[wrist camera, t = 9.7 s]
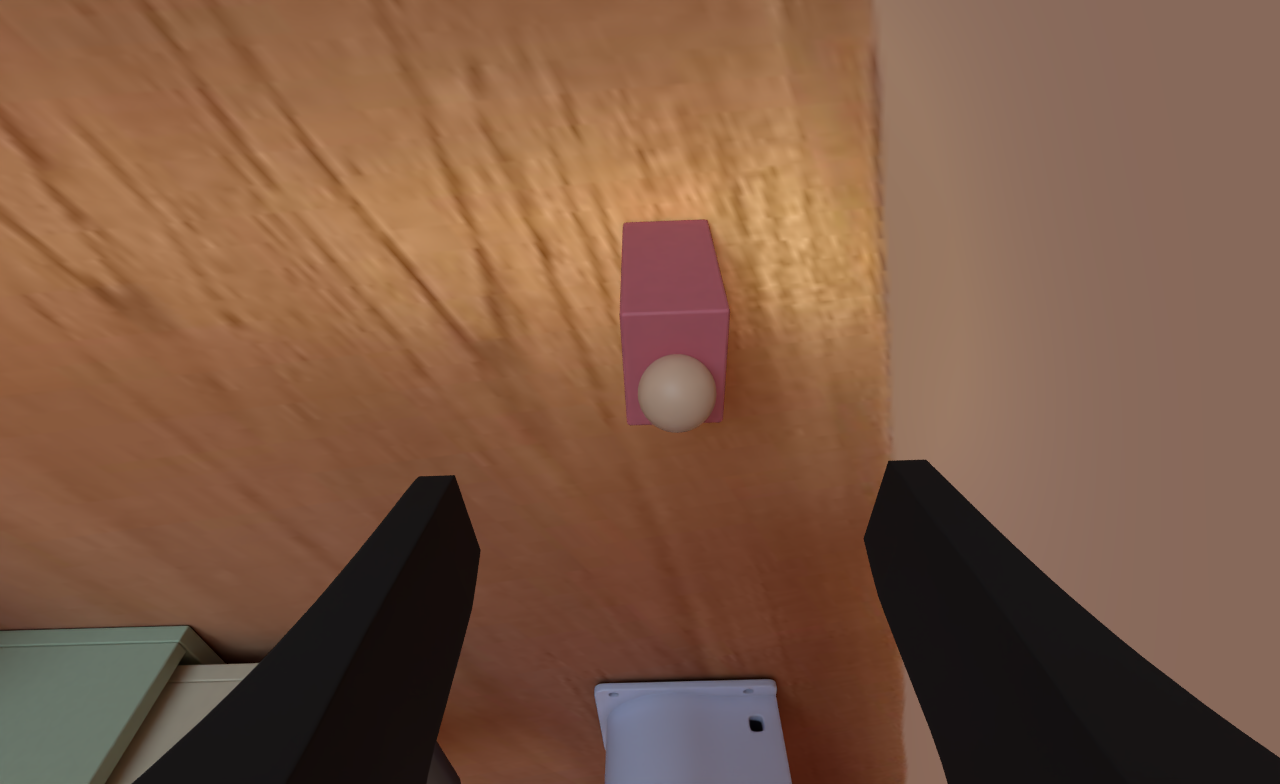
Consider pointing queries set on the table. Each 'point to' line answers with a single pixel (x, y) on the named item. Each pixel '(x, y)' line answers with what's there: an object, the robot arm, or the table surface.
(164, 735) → the drawer
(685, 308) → the pink block with knob
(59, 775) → the cabinet
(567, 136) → the table surface
